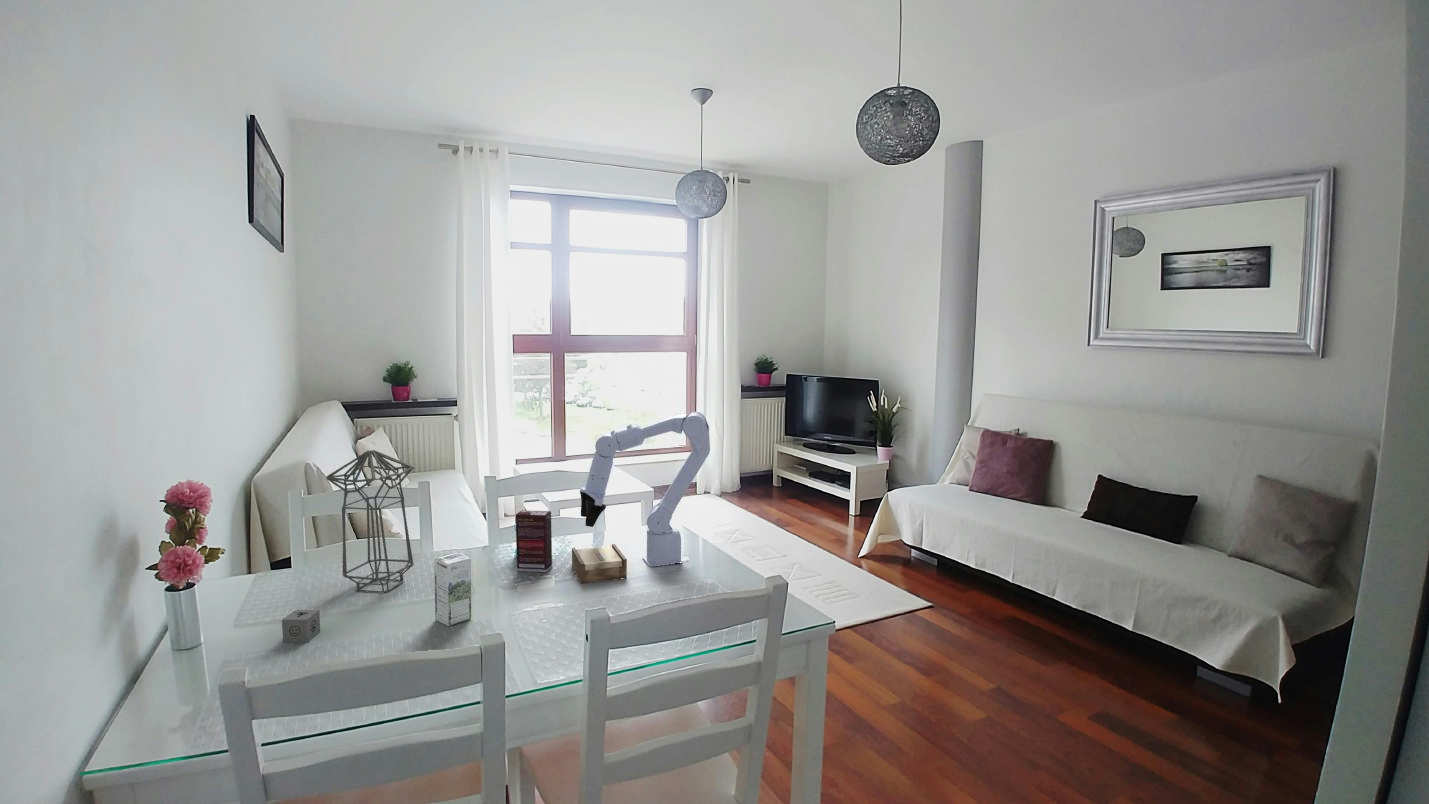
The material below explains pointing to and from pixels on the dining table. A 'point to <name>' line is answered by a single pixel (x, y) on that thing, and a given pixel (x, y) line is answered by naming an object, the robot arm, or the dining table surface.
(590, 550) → the lid
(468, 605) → the syrup box
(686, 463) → the robot arm
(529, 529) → the supplement box
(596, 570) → the box
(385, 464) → the geometric lantern
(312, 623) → the dice cube
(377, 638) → the dining table surface
